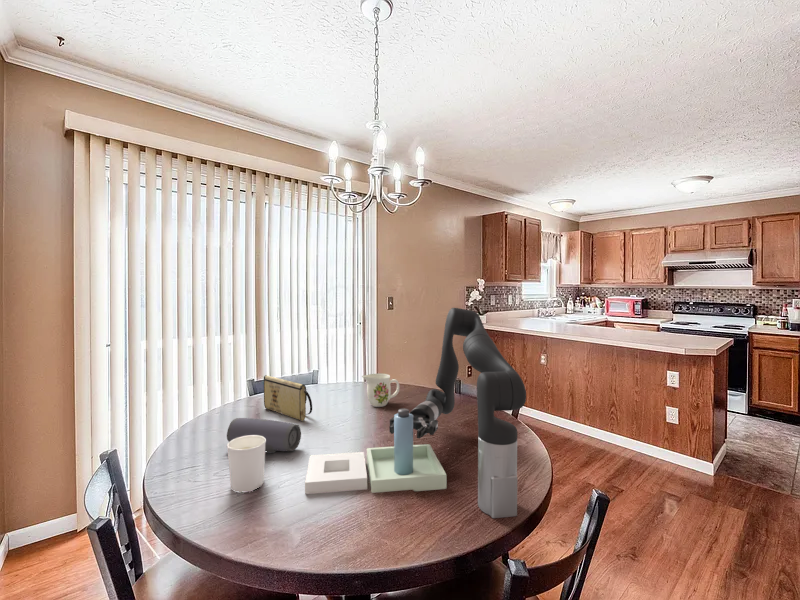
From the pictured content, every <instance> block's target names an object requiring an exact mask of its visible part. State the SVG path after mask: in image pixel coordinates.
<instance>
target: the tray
mask: <svg viewBox="0 0 800 600" xmlns="http://www.w3.org/2000/svg"><path fill="white" fill-rule="evenodd" d="M366 462H367V463H366V464H367V469H368V470H367V472H368V479H369V483H370V491H371V492H370V493H372V494H374V493H385V492H387V493H388V492H398V491H399V492H400V491H409V490H410V491H411V490H412V491H413V492H423V491H434V490H435V491H436V490H446V489H447V473H446V471H445V470H444V467H443V465H442V464H441V462H440V460H439V459H438V456H437V455H436V453H435V451H434V450H433V448H432V446H431V444H430V443H428V444H427V443H424V444H413V472H412V473H411V474H409V475H399V474H396V473H395V472H394V445H393V446H382V447H367V448H366Z"/></svg>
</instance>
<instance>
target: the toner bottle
mask: <svg viewBox="0 0 800 600" xmlns="http://www.w3.org/2000/svg"><path fill="white" fill-rule="evenodd" d="M393 416H394V433H393V446H394V472H395V473H396V474H399V475H409V474H411V473H412V472H413V445H414V429H413V415H412V414H410V409H409V408H399V409H398V410H397V413H395V414H393Z"/></svg>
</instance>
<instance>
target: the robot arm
mask: <svg viewBox="0 0 800 600" xmlns="http://www.w3.org/2000/svg"><path fill="white" fill-rule="evenodd" d="M454 336H460V337H465V338H464V341H463V344H462V351H463V354H464V356H465V359H466V360H467V362H468V363H469V365H470V367H472V368H473V369H474V370H476V371H477V372H479V375H478V377H477V380H476V399H477V401H476V402H477V403H476V405H477V431H478V433H477V434H478V435H477V437H478V438H477V439H478V440H477V441H478V443H477V447H478V449H477V470H478V471H477V507H478V508H479V509H480V510H481V512H483V513H484V514H487V515H488V516H490V517H491V518H492V519H500V518H510V517H511V518H512V517H517V516H518V429H517V427H516V426H515V425H514V424H512V423H511V422H509V421H506V420H505V419H501V418H498V417H496V416H495V411H496V412H500V411H501V412H504V411H505V412H507V411H517V410H520V409H521V408H523V407H524V406H525V404H526V401H527V389H526V386H525V383H524V382H523V380H522V377H521V376H520V375H519V372H517V371H516V369H515V368H513V366H512V365H511V364H510V363H509V362H508V361H507V359H506V358H504V356H503V355H502V353H501V351H499V349H498V347H497V345H496V344H495V341H494V340H493V339H492V338H491V337H490V335H489V333H488V332H487V330H486V329H485V327H484V323H483V321H482V319H481V316H480V314H479V313H477V312H476V311H474V310H471V309H470V310H469V309H466V308H465V309H464V308H459V307H451V308H450V309H449V310H448V313H447V314H446V320H445V324H444V331H443V337H442V347H441V355H440V362H439V366H438V369H437V373H436V376H435V377H436V378H435V386H437V387H438V388H439V389H440V390H439V389H436V388H434V389H433V388H432V389H430V390H429V391H428V392H427V395H426V398H425V400H424V401H422V402H421V403H419V404H418V405H417V406H415V407H414V408H413V409H411V410H410V411H409V413H410V414H412V415H413V430H415V431H416V438H417V439H421V438H423V437H424V436H425V435H426V436H427V435H428V434H429V435H430V436H434V434H435V433H436V432H437V430H438V429H439V428H438V427H439V425H438V424H439V421H438V418H439V417H440V416H441V414H444V415H448V414H450V413H451V412H453V410H454V407H455V387H456V386H455V385H456V383H457V382H456V381H457V378H458V375H459V369H460V367H459V366H460V365H459V361H458V358H457V355H456V351H455V349H454V344H453V343H454V342H453V341H454ZM388 429H389V430H388V432H389V434H392V435H394V417H391V418H390V419H389V428H388Z"/></svg>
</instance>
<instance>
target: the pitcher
mask: <svg viewBox="0 0 800 600" xmlns="http://www.w3.org/2000/svg"><path fill="white" fill-rule="evenodd" d="M361 377H362V379H365V381H366V382H367V384H366V395H367V398H368V401H369V404H370V405H371V406H372V407H375V408H381V407H383V408H384V407H385V406H387V405H388V403H389V401H390V399H392V398H396V396H397V395H398V393H400V382H399V381H398V379H395V378H393V379H391V375H390V374H388V373H369V374H365V375H361ZM392 383H395V384H396V390H395V392H393V393H392V386H391V384H392ZM391 393H392V394H391Z"/></svg>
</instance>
